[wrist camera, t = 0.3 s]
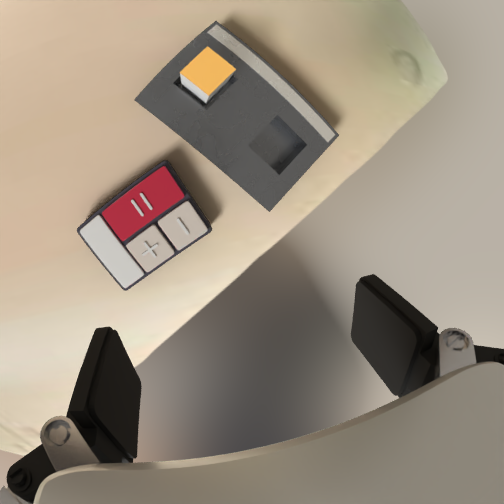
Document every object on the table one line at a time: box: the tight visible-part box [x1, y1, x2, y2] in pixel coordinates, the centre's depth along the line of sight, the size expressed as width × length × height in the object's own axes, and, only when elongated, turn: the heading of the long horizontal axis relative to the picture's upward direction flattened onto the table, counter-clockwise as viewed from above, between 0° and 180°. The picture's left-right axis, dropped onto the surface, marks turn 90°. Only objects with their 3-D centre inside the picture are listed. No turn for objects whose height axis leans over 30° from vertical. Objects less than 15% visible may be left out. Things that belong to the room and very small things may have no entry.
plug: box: [180, 46, 236, 105], centre depth 27 cm, size 4×4×8 cm
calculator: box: [77, 160, 212, 291], centre depth 35 cm, size 11×4×15 cm
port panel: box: [135, 21, 339, 212], centre depth 32 cm, size 14×22×4 cm, turn 47°
